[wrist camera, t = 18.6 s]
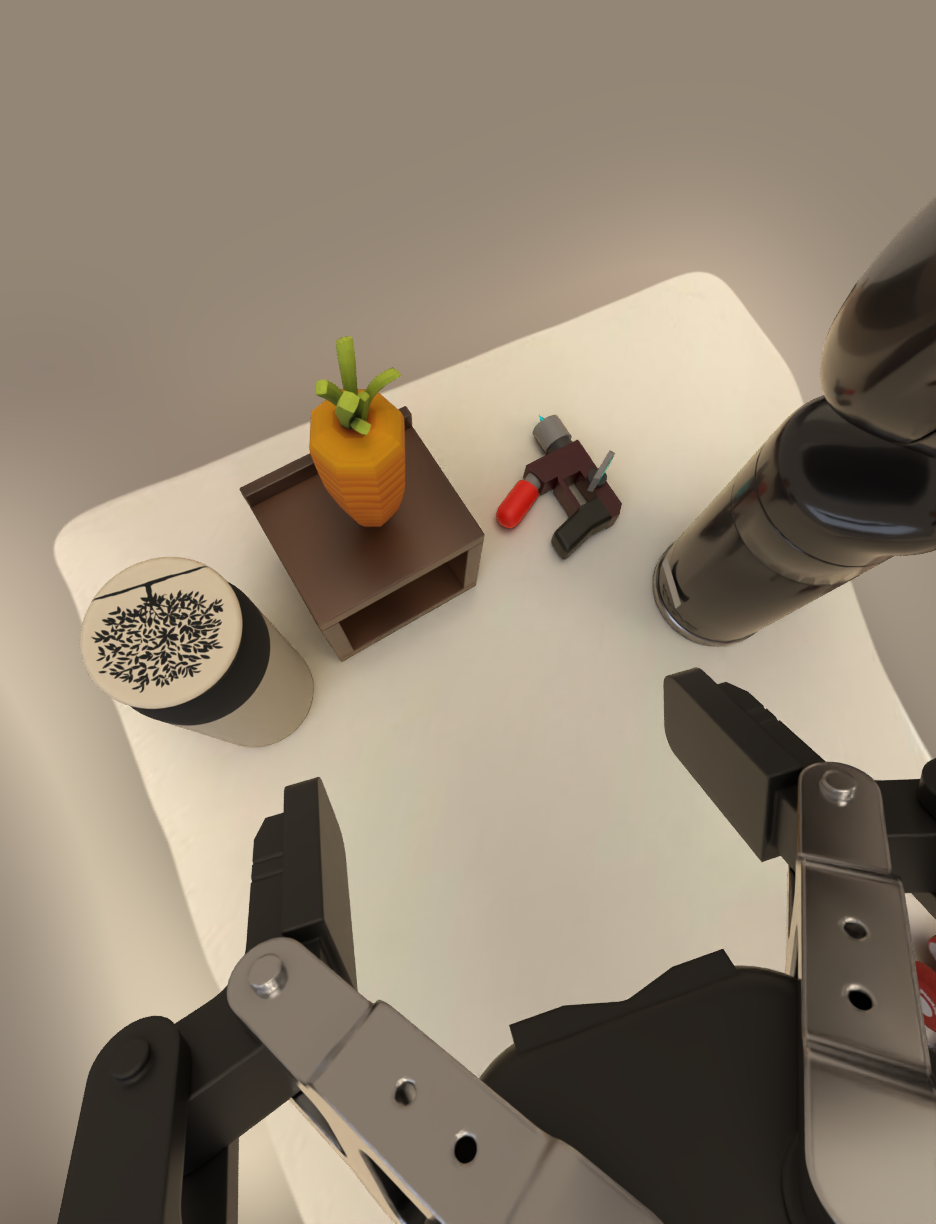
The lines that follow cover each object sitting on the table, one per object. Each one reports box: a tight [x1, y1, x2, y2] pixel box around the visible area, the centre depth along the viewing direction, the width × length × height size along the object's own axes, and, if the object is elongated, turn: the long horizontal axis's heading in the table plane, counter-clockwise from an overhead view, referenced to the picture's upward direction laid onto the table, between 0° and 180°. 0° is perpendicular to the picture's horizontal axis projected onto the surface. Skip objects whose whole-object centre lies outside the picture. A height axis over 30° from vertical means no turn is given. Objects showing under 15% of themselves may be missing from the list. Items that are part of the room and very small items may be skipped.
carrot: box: [309, 336, 405, 527], centre depth 34 cm, size 5×5×15 cm
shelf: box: [240, 406, 484, 661], centre depth 45 cm, size 12×10×11 cm
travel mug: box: [80, 557, 313, 747], centre depth 39 cm, size 8×8×18 cm
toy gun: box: [496, 415, 622, 559], centre depth 51 cm, size 10×12×5 cm
